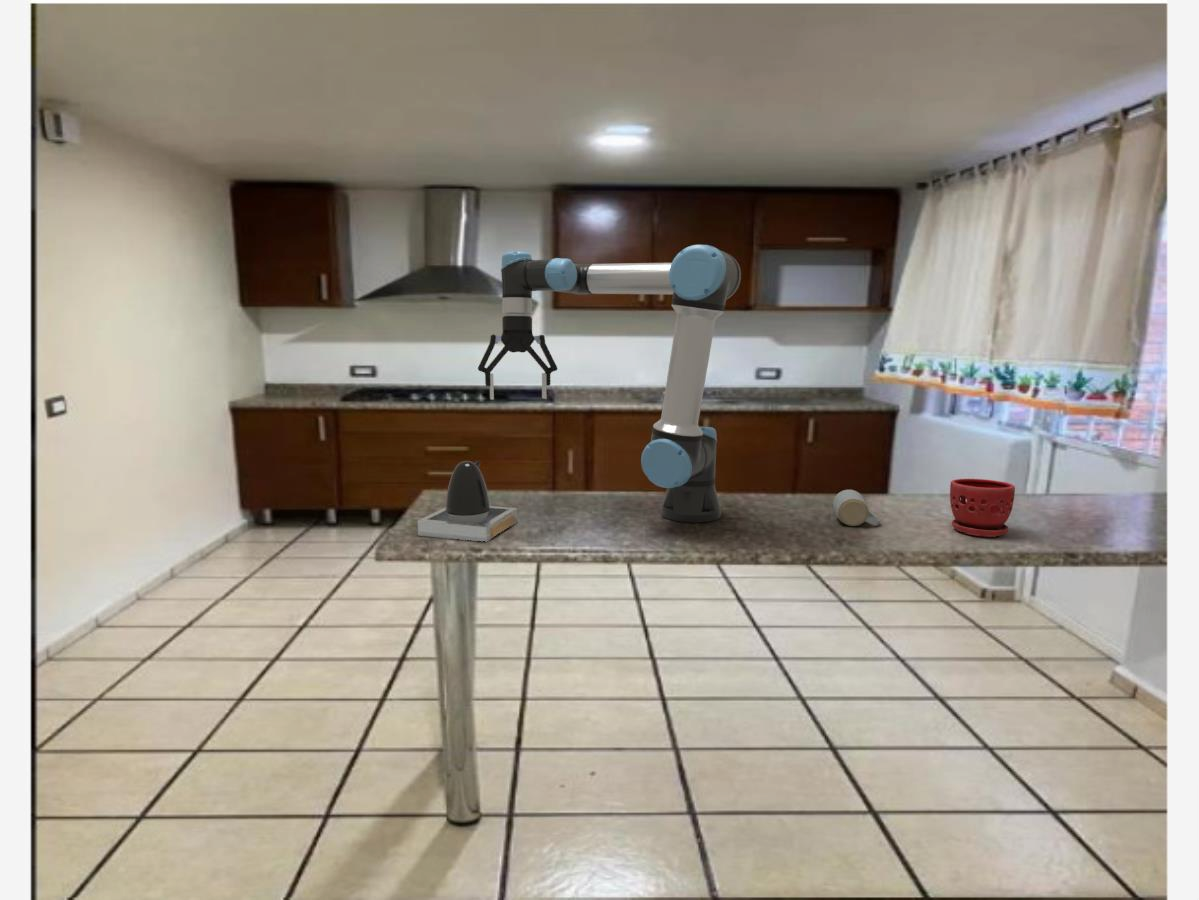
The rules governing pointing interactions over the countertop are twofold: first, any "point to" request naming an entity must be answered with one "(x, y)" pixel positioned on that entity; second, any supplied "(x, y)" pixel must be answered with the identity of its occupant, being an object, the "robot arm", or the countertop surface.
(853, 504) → the ceramic mug
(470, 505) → the black rounded piece
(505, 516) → the flat gray box
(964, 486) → the plant pot
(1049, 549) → the countertop surface
